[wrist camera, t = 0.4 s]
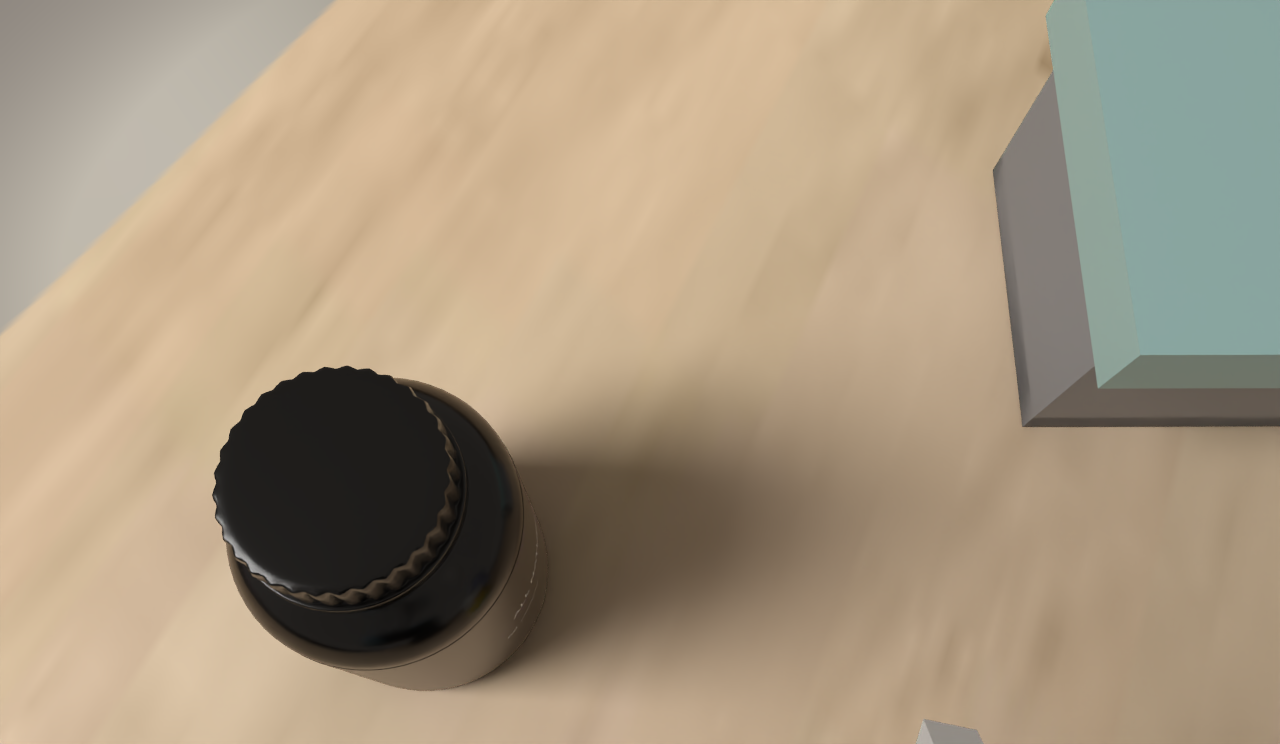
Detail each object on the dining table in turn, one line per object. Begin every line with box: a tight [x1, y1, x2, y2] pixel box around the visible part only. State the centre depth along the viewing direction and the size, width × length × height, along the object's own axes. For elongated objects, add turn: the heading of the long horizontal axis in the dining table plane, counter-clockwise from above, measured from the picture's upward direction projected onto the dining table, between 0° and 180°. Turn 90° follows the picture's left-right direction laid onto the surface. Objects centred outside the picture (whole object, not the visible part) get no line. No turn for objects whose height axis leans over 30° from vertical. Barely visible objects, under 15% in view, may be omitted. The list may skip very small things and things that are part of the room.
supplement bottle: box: [212, 366, 548, 691], centre depth 28 cm, size 7×7×12 cm
